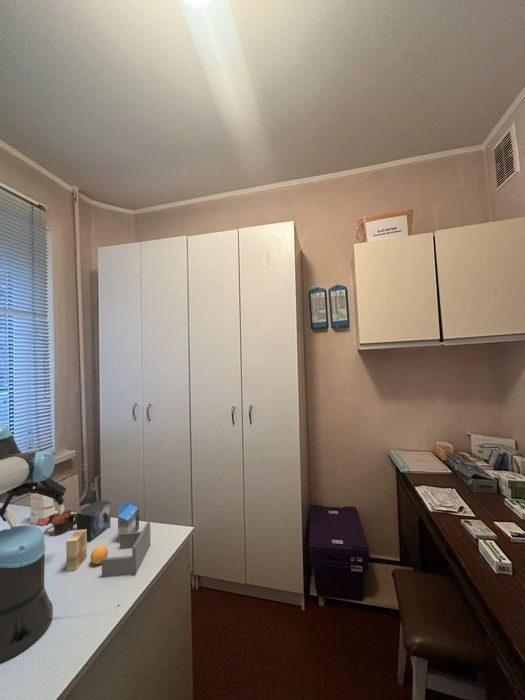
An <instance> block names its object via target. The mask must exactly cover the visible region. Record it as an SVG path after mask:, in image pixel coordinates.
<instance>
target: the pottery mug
mask: <svg viewBox="0 0 525 700" xmlns="http://www.w3.org/2000/svg"><path fill="white" fill-rule="evenodd" d="M50 524H51V525H52V526H53V530H51V531H50V532H49V533H48V535H49V537H51V538H52V537H58V536H62V535H64V534H66V533H67V532H68V531H69V529H70V530H72V529H73V528H74V527H75V526H77V513H72V510H63V513H62V514H61V515H59V513H58V512H55V514H53V515H51V516H49V520H48V522H47V524H46V525H45V526H48V525H50Z"/></svg>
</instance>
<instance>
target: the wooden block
mask: <svg viewBox="0 0 525 700" xmlns="http://www.w3.org/2000/svg"><path fill="white" fill-rule="evenodd" d="M76 530H77V529H76ZM65 545H66V547H65V548H66V551H65V553H66V557H65V559H66V560H65V561H66V565H65V566H66V567H65V569H66V571H77V570H78V569H79V567H80V566H81V565H82V564H83V563H84V561H85V560H86V559H87V556H88V552H87V551H88V550H87V549H88V542H87V529H85V530H77V531H74V533H73V534H71V535H70V537H69V538H68V539H67V540H66V544H65Z"/></svg>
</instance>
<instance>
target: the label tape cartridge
mask: <svg viewBox="0 0 525 700" xmlns="http://www.w3.org/2000/svg"><path fill="white" fill-rule="evenodd" d="M124 506H125V507H124ZM139 529H140V508H139V507H137V506H135V505H133V504H131V498H128V499H126V501H124V502H123V503H122V504H121V505H120V506H119V507H118V508H117V543H120V534H121V533H126V532H138V531H139Z"/></svg>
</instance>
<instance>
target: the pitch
mask: <svg viewBox="0 0 525 700" xmlns="http://www.w3.org/2000/svg"><path fill="white" fill-rule="evenodd" d="M150 547H151V521H147V522H146V524H145V525H144V527H143V529H142V530H140V531H139V530H138V531H137V532H126V533H121V534H120V542H119V549H121V550H123V549H132V550H131V551H132V552H131V553H132V555H128V556H127V555H125V556H123V555H122V556H114V557H111V556H110V557H107V558H103V559H102V563H101V578H104V577H105V578H106V577H117V576H127V575H131V576H132V577H136V576H137V573H138V572H139V569H140V567H141V565H142V563H143V561H144V559H145V557H146V555H147V553H148V551H149V549H150Z"/></svg>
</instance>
